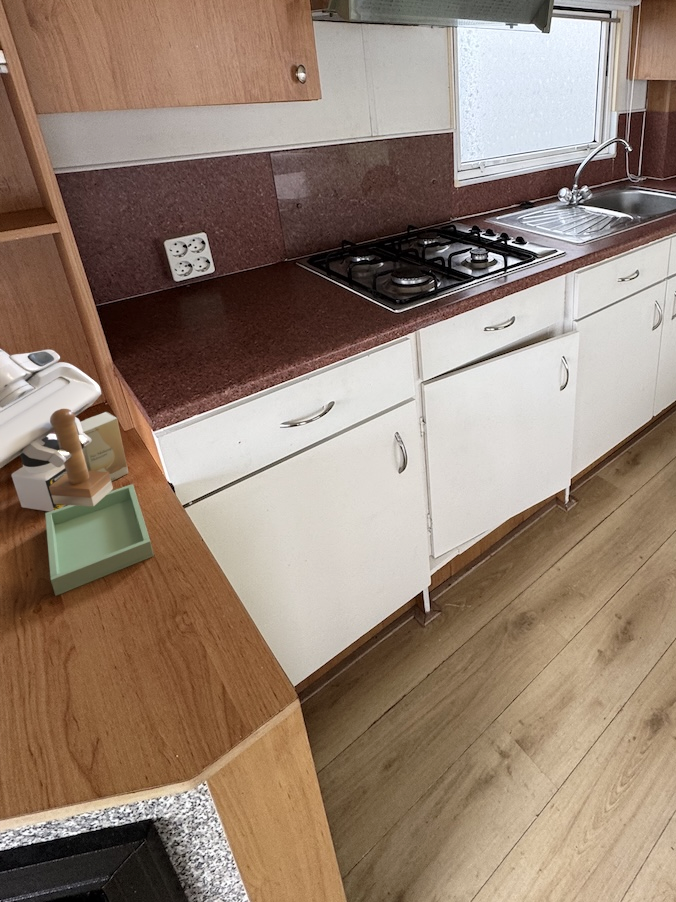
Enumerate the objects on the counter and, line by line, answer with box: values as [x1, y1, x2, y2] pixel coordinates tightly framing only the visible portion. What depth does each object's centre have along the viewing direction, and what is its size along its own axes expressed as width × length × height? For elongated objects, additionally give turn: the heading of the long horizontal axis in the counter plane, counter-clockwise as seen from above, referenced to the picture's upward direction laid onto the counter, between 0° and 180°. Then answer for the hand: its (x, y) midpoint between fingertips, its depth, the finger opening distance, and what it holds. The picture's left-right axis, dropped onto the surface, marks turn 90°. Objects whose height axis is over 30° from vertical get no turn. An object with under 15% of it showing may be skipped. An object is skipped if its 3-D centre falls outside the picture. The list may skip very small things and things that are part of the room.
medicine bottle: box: [11, 434, 66, 512], centre depth 102 cm, size 7×7×12 cm
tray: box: [44, 483, 155, 597], centre depth 94 cm, size 18×13×3 cm
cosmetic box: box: [80, 411, 129, 482], centre depth 107 cm, size 6×4×12 cm
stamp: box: [49, 409, 114, 507], centre depth 82 cm, size 6×4×14 cm, turn 86°
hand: (76, 453), depth 82 cm, fingers closed on stamp, 2 cm apart
